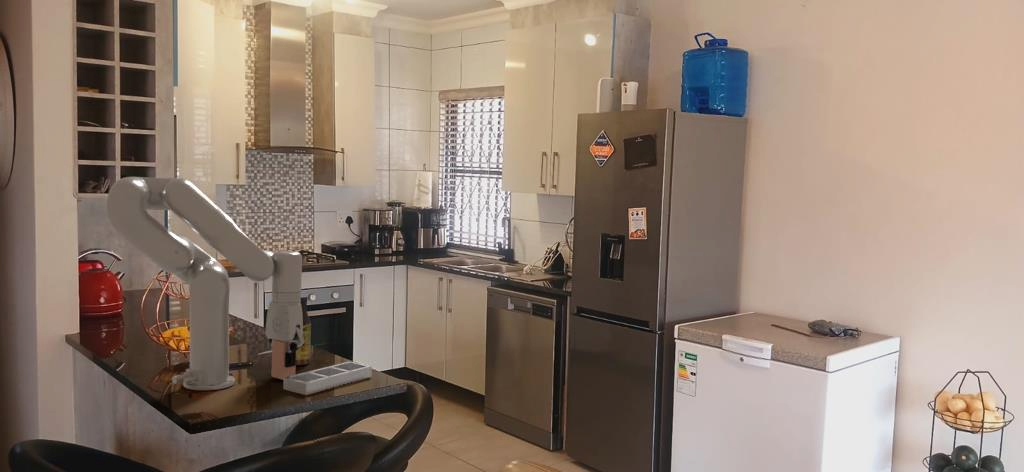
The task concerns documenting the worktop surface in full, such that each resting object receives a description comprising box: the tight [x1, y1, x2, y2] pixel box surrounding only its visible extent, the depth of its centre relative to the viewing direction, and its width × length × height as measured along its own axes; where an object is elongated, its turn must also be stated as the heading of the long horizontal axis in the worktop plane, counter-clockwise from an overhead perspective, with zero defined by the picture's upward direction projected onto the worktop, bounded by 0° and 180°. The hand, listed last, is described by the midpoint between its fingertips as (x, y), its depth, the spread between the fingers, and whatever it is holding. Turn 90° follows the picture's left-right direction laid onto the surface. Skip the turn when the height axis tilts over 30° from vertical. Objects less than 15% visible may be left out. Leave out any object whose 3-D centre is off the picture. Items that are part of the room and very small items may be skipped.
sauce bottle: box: [296, 295, 312, 366], centre depth 231 cm, size 6×6×20 cm
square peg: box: [270, 340, 297, 381], centre depth 213 cm, size 4×4×10 cm
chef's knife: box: [257, 349, 272, 355], centre depth 248 cm, size 19×1×3 cm
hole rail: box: [282, 360, 373, 396], centre depth 212 cm, size 23×9×3 cm, turn 146°
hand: (283, 364), depth 213 cm, fingers closed on square peg, 4 cm apart
